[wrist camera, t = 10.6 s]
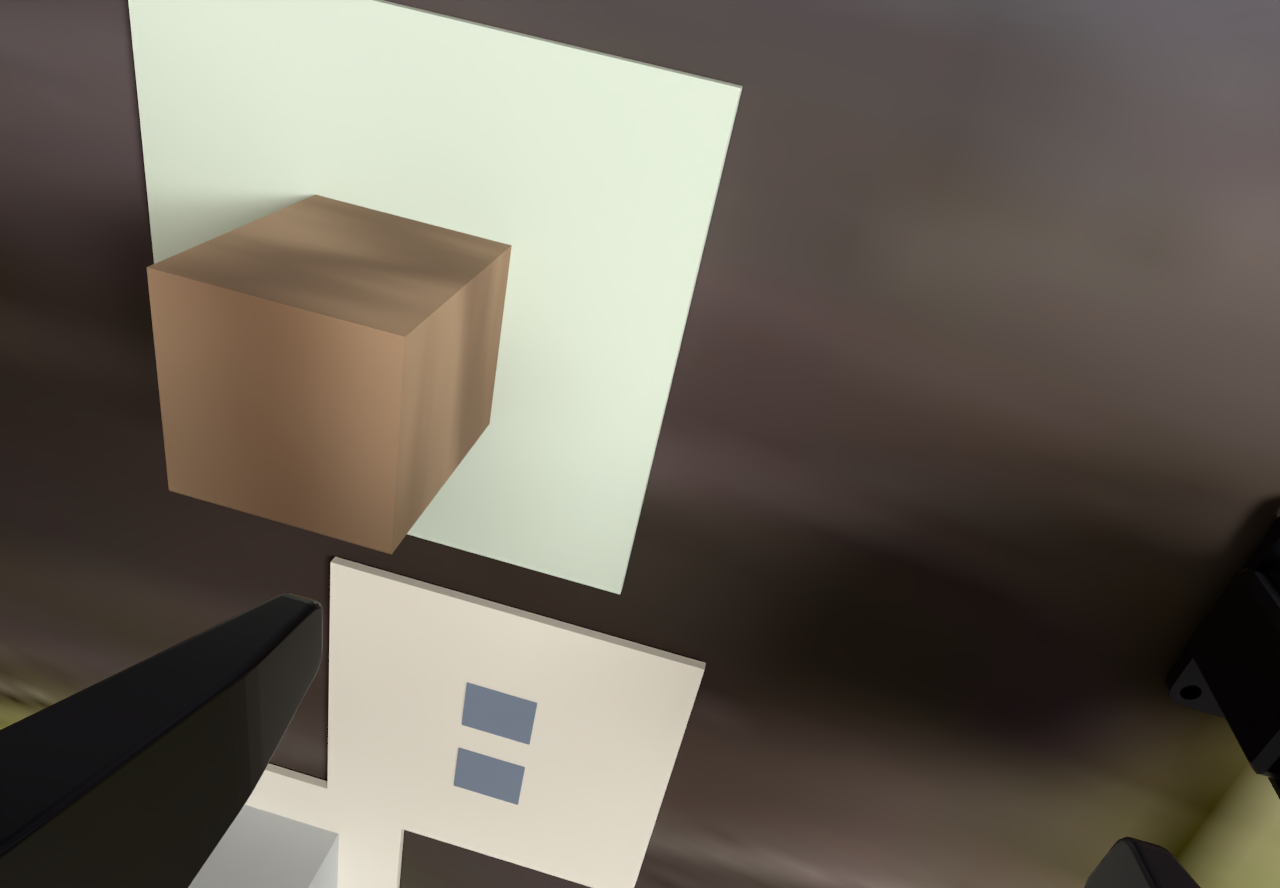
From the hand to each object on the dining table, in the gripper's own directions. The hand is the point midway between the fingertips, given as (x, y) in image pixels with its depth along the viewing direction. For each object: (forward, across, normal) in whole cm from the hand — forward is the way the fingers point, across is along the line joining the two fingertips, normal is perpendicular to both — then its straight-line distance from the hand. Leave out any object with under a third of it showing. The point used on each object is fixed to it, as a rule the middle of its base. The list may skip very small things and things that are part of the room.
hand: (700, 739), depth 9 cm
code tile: (+13, +5, +17) cm, 22 cm away
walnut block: (+13, +9, +2) cm, 16 cm away
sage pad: (+13, +9, +2) cm, 16 cm away
